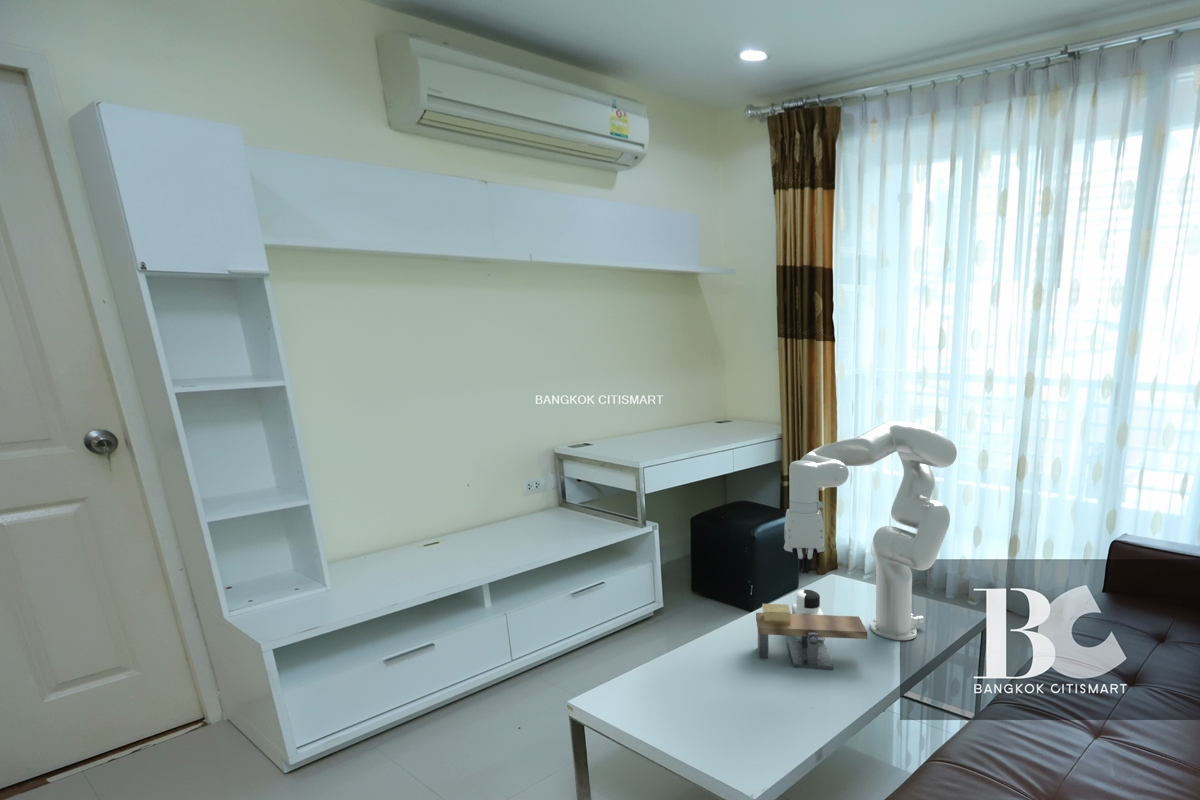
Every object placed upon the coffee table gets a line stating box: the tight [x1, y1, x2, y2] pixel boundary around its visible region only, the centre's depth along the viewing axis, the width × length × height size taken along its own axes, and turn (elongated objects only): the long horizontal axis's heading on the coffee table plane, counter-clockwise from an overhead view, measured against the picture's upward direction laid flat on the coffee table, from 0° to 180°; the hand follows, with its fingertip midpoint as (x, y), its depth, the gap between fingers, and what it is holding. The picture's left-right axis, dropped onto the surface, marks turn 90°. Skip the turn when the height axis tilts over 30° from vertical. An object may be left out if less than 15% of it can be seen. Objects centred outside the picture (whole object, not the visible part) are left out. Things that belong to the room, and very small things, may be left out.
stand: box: [757, 613, 834, 671], centre depth 166 cm, size 19×14×10 cm
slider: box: [761, 603, 792, 625], centre depth 166 cm, size 7×5×4 cm
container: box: [791, 589, 826, 641], centre depth 177 cm, size 8×8×13 cm
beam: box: [755, 612, 868, 640], centre depth 165 cm, size 28×9×2 cm, turn 80°
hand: (804, 571), depth 164 cm, fingers closed
